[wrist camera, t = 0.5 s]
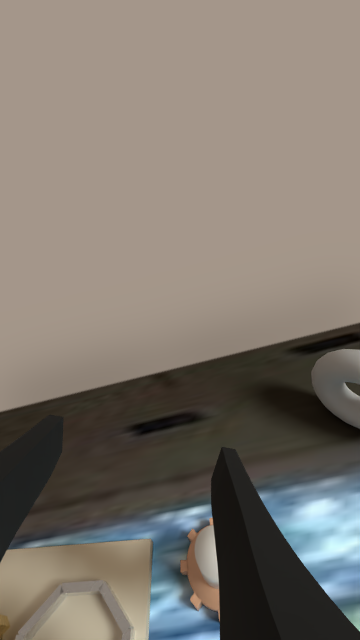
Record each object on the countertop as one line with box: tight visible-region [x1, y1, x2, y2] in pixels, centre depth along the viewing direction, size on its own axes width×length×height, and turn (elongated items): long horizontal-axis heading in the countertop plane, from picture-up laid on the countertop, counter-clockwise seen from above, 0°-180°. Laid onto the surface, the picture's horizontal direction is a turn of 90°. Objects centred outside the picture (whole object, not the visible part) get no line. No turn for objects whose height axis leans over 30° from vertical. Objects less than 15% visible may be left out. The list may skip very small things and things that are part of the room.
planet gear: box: [180, 518, 220, 621], centre depth 21 cm, size 6×6×5 cm
